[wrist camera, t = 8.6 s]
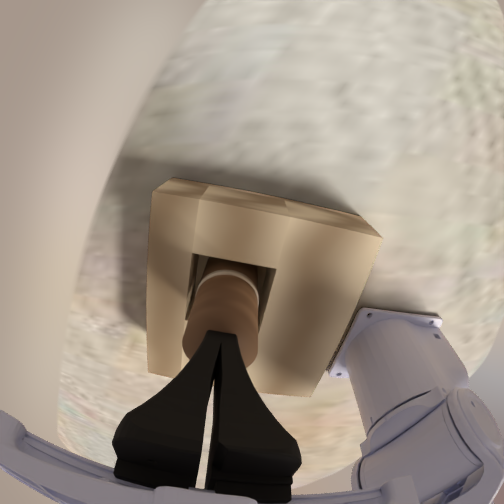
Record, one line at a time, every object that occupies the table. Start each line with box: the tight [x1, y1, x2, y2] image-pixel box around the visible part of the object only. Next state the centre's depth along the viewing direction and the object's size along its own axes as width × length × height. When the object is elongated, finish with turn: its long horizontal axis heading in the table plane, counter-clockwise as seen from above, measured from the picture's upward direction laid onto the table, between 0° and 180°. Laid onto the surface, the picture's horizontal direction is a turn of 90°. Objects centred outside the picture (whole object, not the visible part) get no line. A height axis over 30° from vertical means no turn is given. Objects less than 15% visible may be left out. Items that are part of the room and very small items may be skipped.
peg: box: [182, 257, 259, 368], centre depth 17 cm, size 4×4×8 cm
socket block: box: [146, 178, 383, 397], centre depth 20 cm, size 13×14×4 cm
